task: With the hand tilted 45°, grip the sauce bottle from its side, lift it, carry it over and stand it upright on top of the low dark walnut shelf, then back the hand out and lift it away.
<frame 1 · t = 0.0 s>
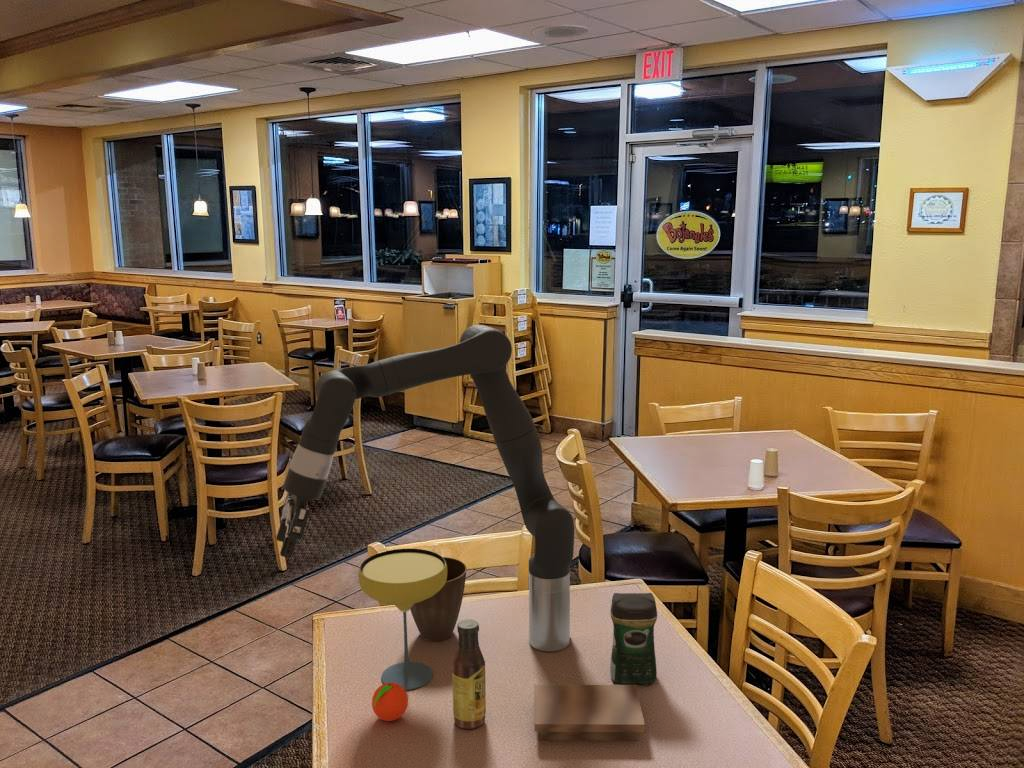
hand: (283, 548, 158), 31 cm above the table, tool tilted 20°, fingers open, 8 cm apart
plant pot: (436, 634, 188), on the table
sauce bottle: (469, 721, 155), on the table
cocktail glass: (407, 677, 171), on the table
walnut shelf: (586, 722, 154), on the table
clementine: (388, 720, 156), on the table
coffee jar: (632, 678, 169), on the table
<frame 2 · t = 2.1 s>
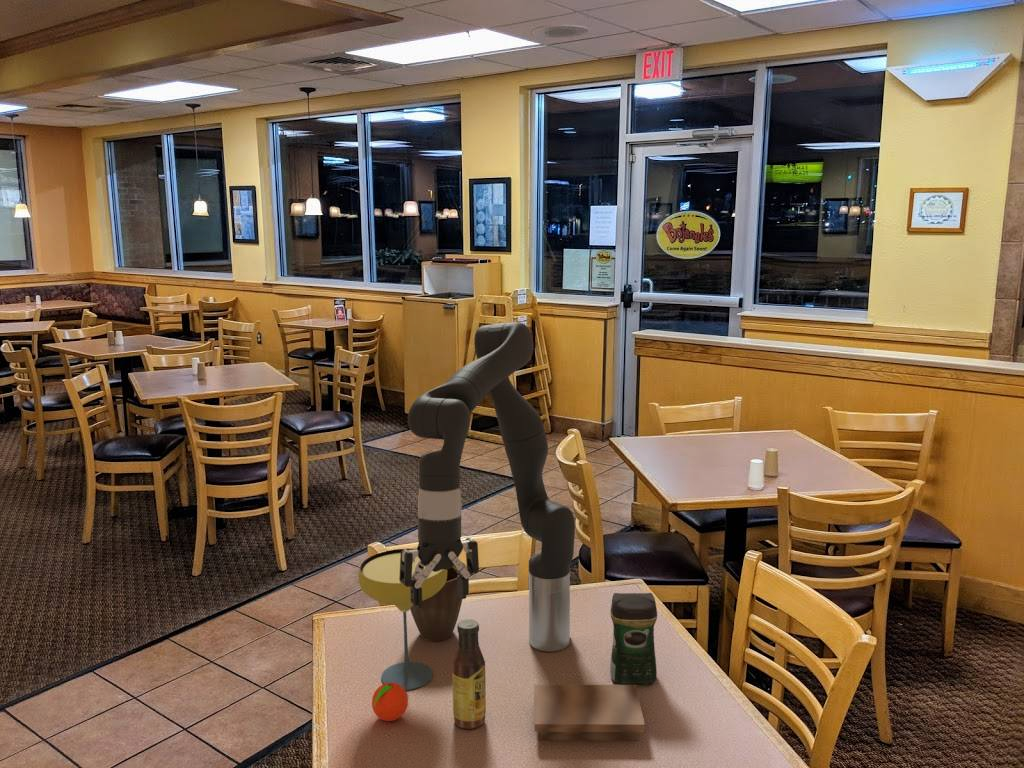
hand: (440, 602, 142), 28 cm above the table, tool pointing down, fingers open, 8 cm apart
nothing on the table moved.
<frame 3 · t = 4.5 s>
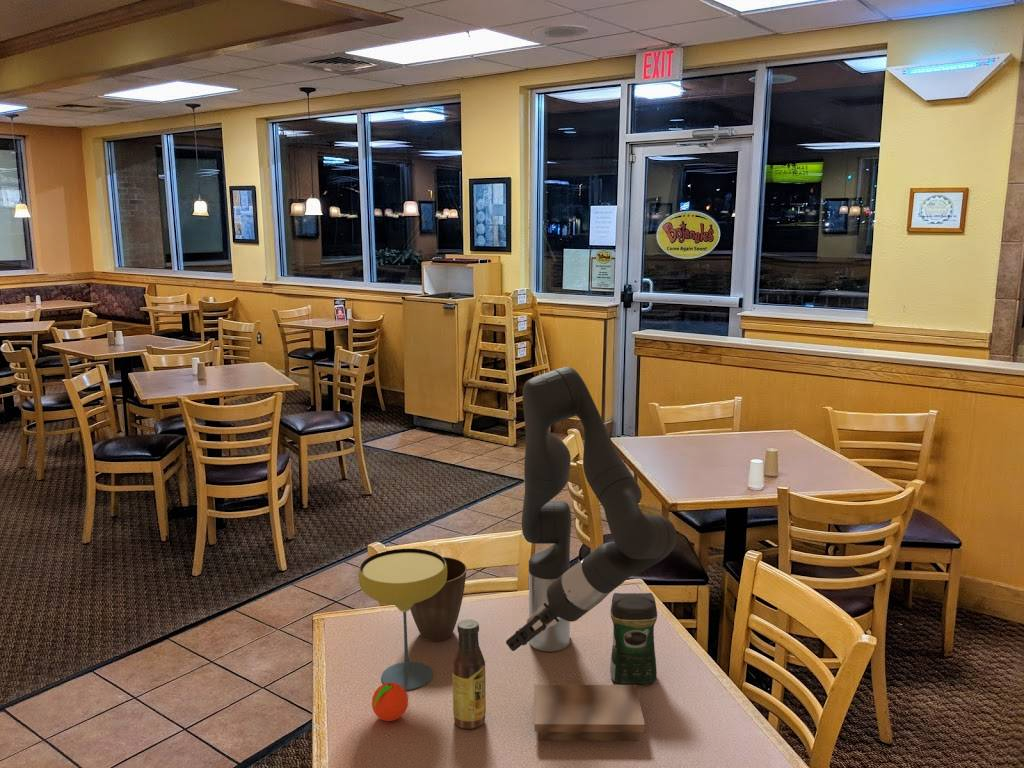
hand: (521, 635, 145), 21 cm above the table, tool tilted 45°, fingers open, 8 cm apart
nothing on the table moved.
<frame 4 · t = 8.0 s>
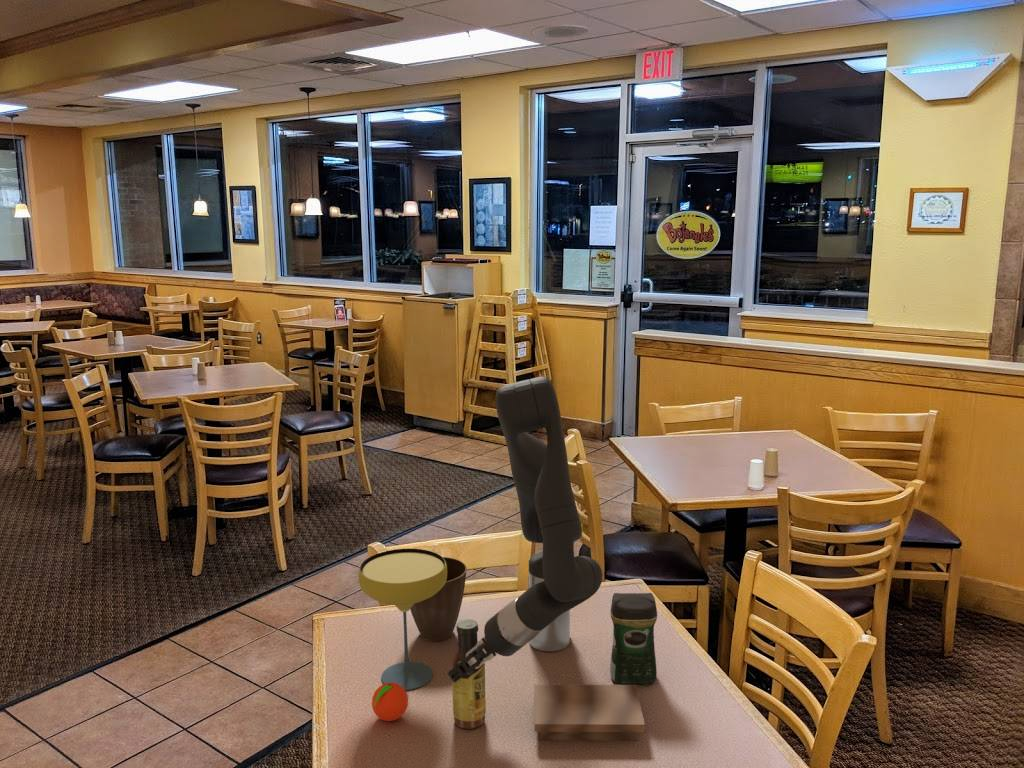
hand: (461, 668, 154), 10 cm above the table, tool tilted 45°, fingers closed on sauce bottle, 6 cm apart
sauce bottle: (469, 721, 155), on the table, touching gripper
everything else where it was.
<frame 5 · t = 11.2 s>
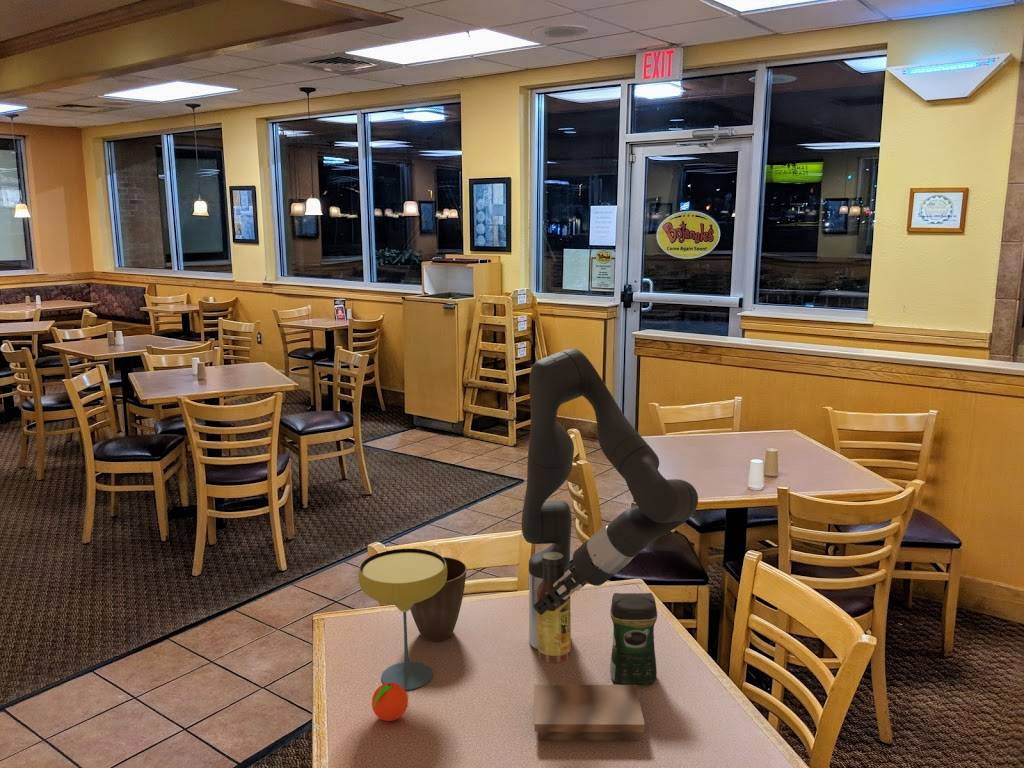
hand: (546, 602, 150), 24 cm above the table, tool tilted 45°, fingers closed on sauce bottle, 6 cm apart
sauce bottle: (554, 657, 151), point 14 cm above the table, touching gripper
everything else where it was.
when the fingers open (16 cm above the table, at t = 14.2 s): sauce bottle drops 1 cm, resting on walnut shelf.
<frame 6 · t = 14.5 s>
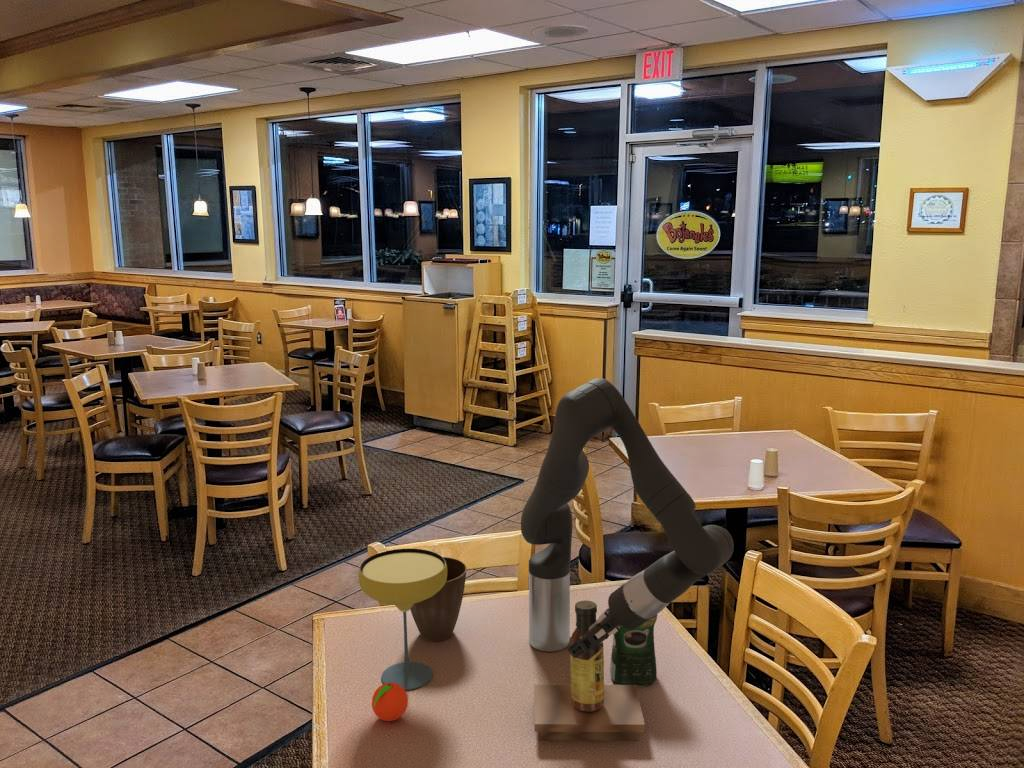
hand: (580, 643, 151), 16 cm above the table, tool tilted 45°, fingers open, 8 cm apart
sauce bottle: (587, 705, 153), point 4 cm above the table, touching walnut shelf
everything else where it was.
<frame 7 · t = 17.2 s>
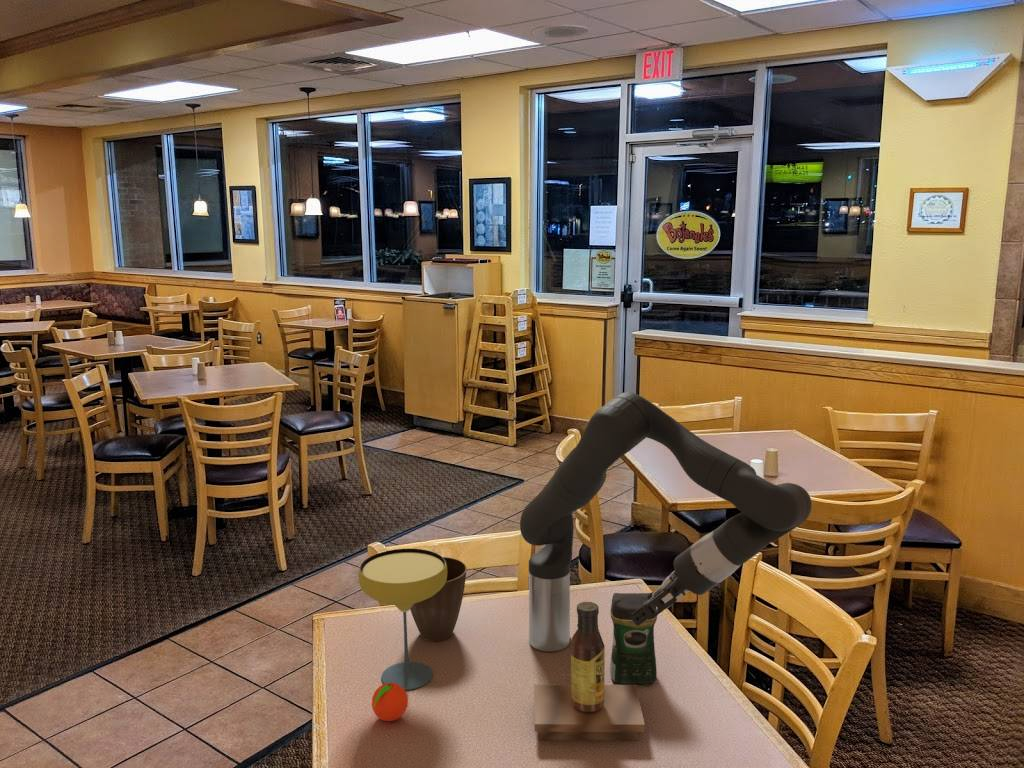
hand: (642, 610, 144), 26 cm above the table, tool tilted 45°, fingers open, 8 cm apart
nothing on the table moved.
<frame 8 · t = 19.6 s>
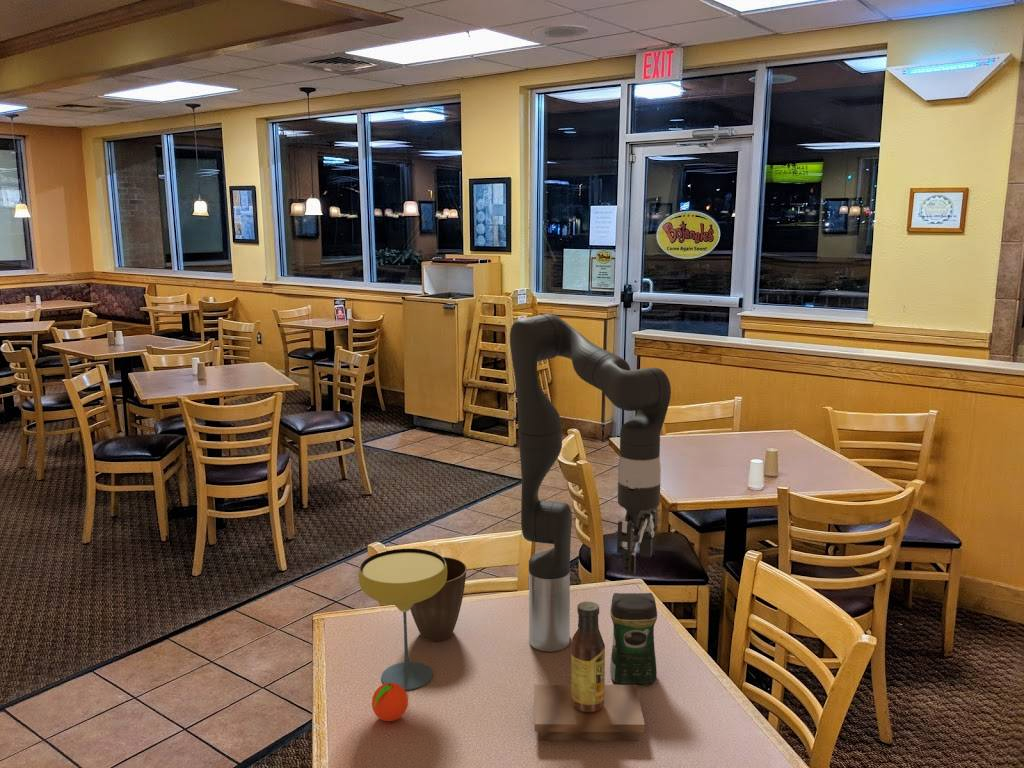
hand: (637, 564, 147), 32 cm above the table, tool pointing down, fingers open, 8 cm apart
nothing on the table moved.
at the end: sauce bottle inside the target area on the walnut shelf (0.3 cm from its centre), point 3.8 cm above the walnut shelf's base; sauce bottle tilted 0°; the gripper is holding nothing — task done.
